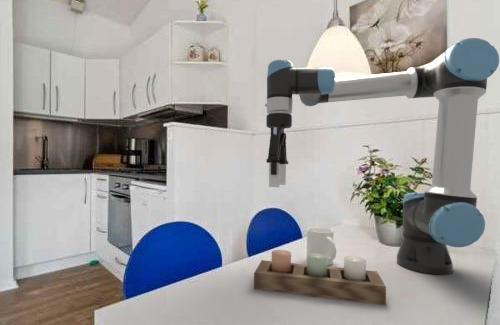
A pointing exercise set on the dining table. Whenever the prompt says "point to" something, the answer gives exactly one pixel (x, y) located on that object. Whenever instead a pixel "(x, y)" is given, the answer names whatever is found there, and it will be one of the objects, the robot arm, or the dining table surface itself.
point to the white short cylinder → (354, 268)
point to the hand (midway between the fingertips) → (277, 185)
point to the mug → (321, 242)
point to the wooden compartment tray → (321, 283)
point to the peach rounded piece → (281, 261)
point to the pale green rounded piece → (317, 264)
